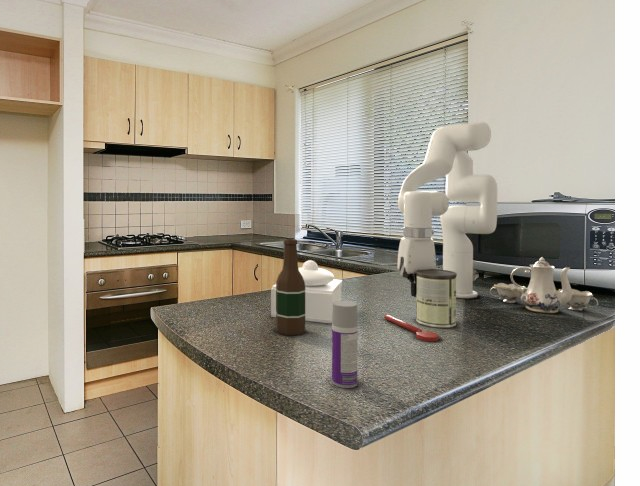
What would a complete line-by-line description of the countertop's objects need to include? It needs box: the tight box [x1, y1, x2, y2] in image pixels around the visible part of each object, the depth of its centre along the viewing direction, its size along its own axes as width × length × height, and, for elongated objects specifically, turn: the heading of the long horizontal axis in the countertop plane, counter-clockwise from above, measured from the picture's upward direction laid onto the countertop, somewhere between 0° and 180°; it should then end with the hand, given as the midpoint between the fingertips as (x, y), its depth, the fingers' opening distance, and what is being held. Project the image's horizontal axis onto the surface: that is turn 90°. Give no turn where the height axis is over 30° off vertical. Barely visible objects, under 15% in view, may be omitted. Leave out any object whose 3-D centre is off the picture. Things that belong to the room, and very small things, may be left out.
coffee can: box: [415, 268, 457, 329], centre depth 121 cm, size 10×10×14 cm
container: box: [331, 300, 359, 389], centre depth 82 cm, size 5×5×15 cm
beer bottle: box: [275, 238, 306, 336], centre depth 113 cm, size 8×8×24 cm
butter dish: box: [270, 259, 343, 324], centre depth 132 cm, size 18×18×16 cm
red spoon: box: [384, 314, 439, 342], centre depth 115 cm, size 20×5×1 cm, turn 15°
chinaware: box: [489, 256, 599, 314], centre depth 137 cm, size 28×17×17 cm, turn 62°
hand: (416, 296), depth 127 cm, fingers closed
